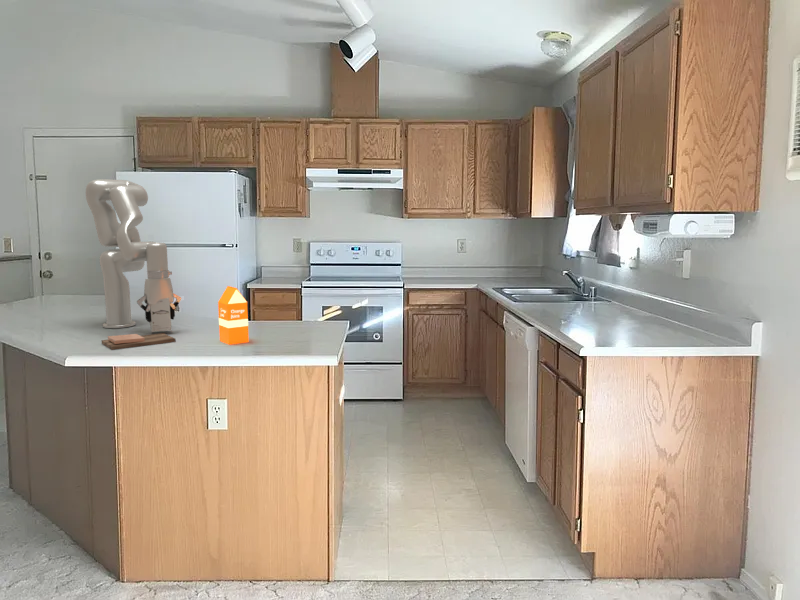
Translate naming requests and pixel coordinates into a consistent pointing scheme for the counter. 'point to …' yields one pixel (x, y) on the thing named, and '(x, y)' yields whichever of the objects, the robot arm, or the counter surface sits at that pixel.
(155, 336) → the board
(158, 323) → the supplement box
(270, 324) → the counter surface
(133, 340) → the tile
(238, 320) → the orange juice
